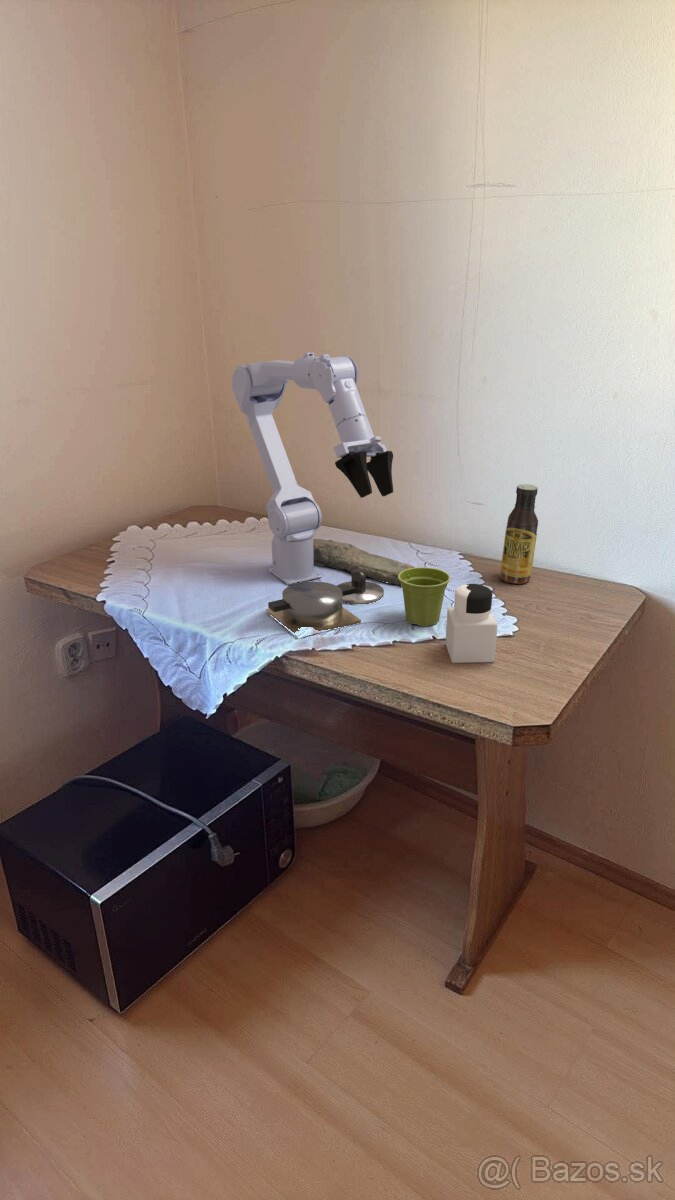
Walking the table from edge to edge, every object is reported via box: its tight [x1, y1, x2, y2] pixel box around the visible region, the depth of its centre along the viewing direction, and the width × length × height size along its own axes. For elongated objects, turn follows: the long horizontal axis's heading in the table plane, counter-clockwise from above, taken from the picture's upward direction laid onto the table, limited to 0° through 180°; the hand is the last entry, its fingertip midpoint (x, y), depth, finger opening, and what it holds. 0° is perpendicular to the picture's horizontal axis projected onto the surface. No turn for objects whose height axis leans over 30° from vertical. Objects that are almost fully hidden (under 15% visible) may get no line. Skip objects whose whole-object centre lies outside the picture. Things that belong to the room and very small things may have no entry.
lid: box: [336, 569, 385, 605], centre depth 158 cm, size 10×10×5 cm
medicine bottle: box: [445, 583, 498, 664], centre depth 133 cm, size 7×7×12 cm
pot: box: [265, 580, 362, 633], centre depth 148 cm, size 13×17×5 cm
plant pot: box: [398, 566, 451, 627], centre depth 146 cm, size 9×9×9 cm
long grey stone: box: [313, 538, 416, 586], centre depth 172 cm, size 35×5×10 cm
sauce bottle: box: [500, 483, 539, 585], centre depth 161 cm, size 6×6×20 cm
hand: (377, 494), depth 140 cm, fingers open, 7 cm apart
